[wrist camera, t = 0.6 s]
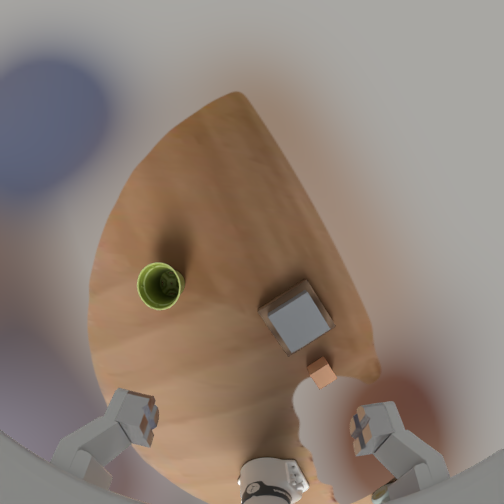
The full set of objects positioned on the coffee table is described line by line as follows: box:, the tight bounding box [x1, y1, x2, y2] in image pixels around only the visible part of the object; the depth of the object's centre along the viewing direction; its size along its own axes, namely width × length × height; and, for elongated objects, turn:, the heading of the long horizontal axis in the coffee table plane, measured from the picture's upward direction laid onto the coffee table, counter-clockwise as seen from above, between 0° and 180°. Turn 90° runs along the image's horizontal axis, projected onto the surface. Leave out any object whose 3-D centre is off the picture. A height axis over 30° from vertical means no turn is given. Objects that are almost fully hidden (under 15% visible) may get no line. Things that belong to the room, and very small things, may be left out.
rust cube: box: [307, 356, 337, 389], centre depth 55 cm, size 4×4×5 cm
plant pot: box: [137, 262, 185, 310], centre depth 55 cm, size 9×9×9 cm
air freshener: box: [372, 483, 392, 504], centre depth 49 cm, size 11×8×10 cm
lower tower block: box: [258, 279, 335, 357], centre depth 56 cm, size 12×12×4 cm
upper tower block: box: [268, 290, 330, 353], centre depth 53 cm, size 9×9×4 cm
